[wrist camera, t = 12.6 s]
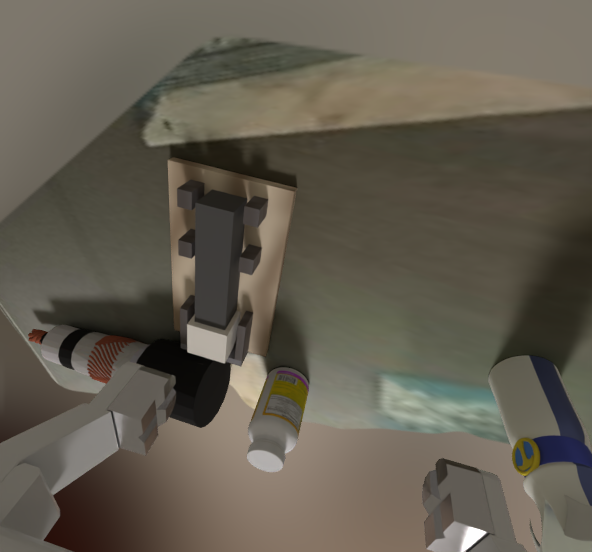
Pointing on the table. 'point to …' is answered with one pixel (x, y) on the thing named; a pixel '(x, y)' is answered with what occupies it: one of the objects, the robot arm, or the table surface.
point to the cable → (159, 356)
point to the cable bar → (216, 275)
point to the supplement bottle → (277, 418)
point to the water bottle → (547, 449)
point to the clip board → (255, 254)
